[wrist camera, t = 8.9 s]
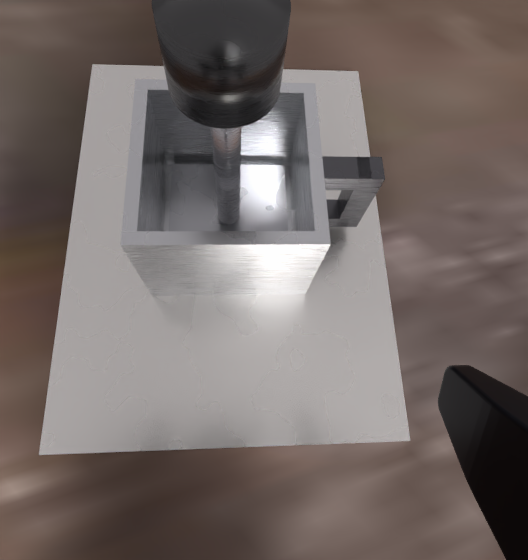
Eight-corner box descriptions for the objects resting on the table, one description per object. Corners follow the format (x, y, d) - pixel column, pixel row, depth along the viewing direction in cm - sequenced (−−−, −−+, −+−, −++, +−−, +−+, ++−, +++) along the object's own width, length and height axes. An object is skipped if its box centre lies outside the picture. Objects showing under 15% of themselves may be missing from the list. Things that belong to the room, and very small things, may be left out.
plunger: (289, 272, 19) (348, 96, 9) (168, 273, 19) (89, 91, 9) (283, 171, 21) (327, -70, 11) (173, 170, 20) (113, -81, 10)
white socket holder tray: (403, 440, 18) (483, 445, 12) (47, 453, 17) (-52, 466, 11) (354, 82, 25) (391, -27, 19) (96, 75, 24) (51, -42, 18)
